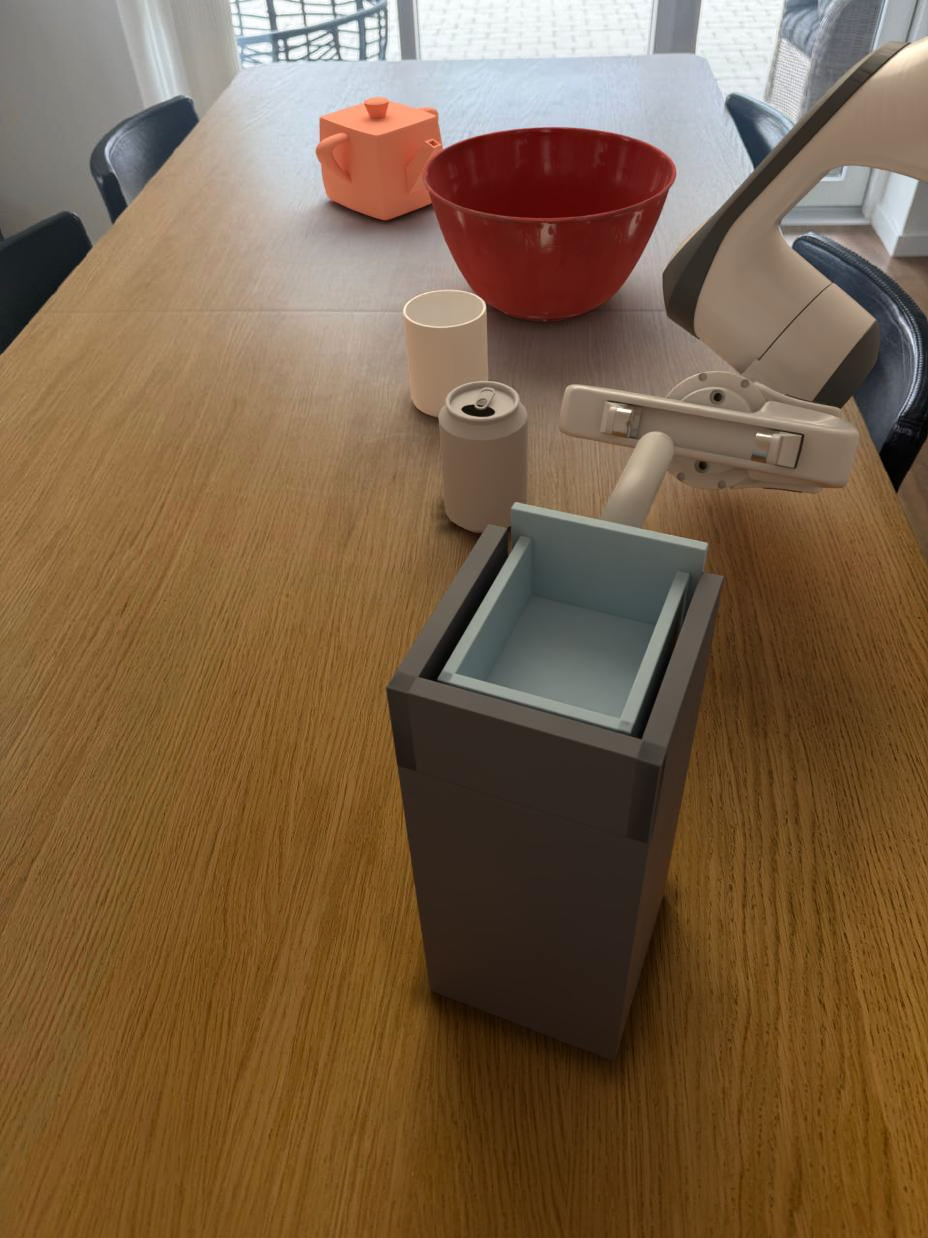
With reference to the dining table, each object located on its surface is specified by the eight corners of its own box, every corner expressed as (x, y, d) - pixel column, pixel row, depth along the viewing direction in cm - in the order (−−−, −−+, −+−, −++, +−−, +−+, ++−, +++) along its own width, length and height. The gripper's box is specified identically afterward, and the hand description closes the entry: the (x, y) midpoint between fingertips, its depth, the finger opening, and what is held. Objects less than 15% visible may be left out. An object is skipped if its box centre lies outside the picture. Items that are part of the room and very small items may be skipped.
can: (432, 529, 87) (422, 413, 78) (463, 482, 92) (457, 368, 83) (511, 546, 85) (509, 428, 76) (538, 497, 90) (539, 382, 81)
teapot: (296, 209, 143) (280, 107, 134) (409, 169, 154) (401, 71, 144) (381, 246, 132) (370, 137, 123) (496, 200, 143) (494, 96, 133)
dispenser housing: (664, 893, 60) (724, 575, 42) (614, 1062, 52) (661, 766, 34) (498, 838, 63) (487, 523, 45) (429, 991, 56) (385, 687, 38)
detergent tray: (734, 513, 52) (751, 424, 49) (634, 803, 39) (647, 712, 35) (575, 481, 55) (579, 394, 51) (431, 742, 42) (422, 651, 38)
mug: (440, 358, 109) (434, 270, 102) (509, 368, 107) (508, 278, 100) (399, 413, 101) (389, 321, 94) (473, 425, 99) (469, 332, 92)
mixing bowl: (707, 284, 120) (724, 152, 109) (572, 379, 105) (577, 237, 94) (526, 232, 134) (526, 111, 123) (384, 310, 118) (370, 179, 108)
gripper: (592, 367, 76) (543, 358, 64) (864, 411, 70) (869, 412, 57) (577, 447, 78) (526, 454, 65) (841, 497, 72) (841, 516, 59)
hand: (689, 435), depth 61 cm, fingers open, 8 cm apart
